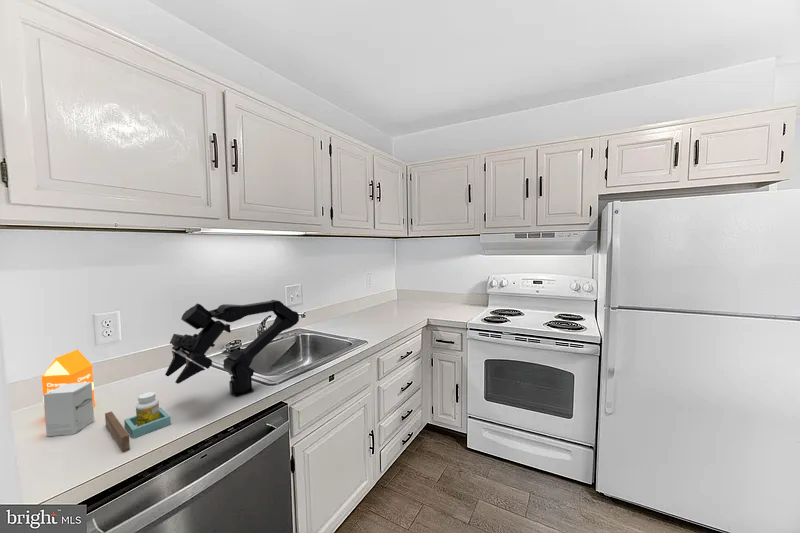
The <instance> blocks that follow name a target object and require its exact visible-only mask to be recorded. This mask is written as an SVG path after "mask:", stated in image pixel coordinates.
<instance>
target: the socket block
mask: <svg viewBox="0 0 800 533" xmlns="http://www.w3.org/2000/svg"><path fill="white" fill-rule="evenodd" d="M159 415H160V419H158V420H155V421H152V422H149V423H146V424H144V425H141V426H138V427H137V416H136V415H133V416H130V417H128V418H127V417H126V418H124V420H123V421H124V422H123V424H124V429H125V430H126V432H127V433H128V435H130V436H131V438H132V439H135V438H138V437H141V436H144V435H147V434H149V433H152V432H154V431H157V430H159V429H163V428H164V427H169V426H170V425H172V423H171V416H170V414H168V413H167V412H166V411H165V410H164V409H163V408H162V407H161V406H159Z"/></svg>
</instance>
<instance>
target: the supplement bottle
mask: <svg viewBox="0 0 800 533" xmlns="http://www.w3.org/2000/svg"><path fill="white" fill-rule="evenodd" d="M137 401H138V403H137V404H136V406H135V414H136V415H135V416H137V425H136V427H138V426H141V425H144V424H146V423H149V422H152V421H155V420H158V419H160V415H159V408H160V402H159V400H158V398H156V392H154V391H149V392H145V393H141V394H140V395H138V397H137Z"/></svg>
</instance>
